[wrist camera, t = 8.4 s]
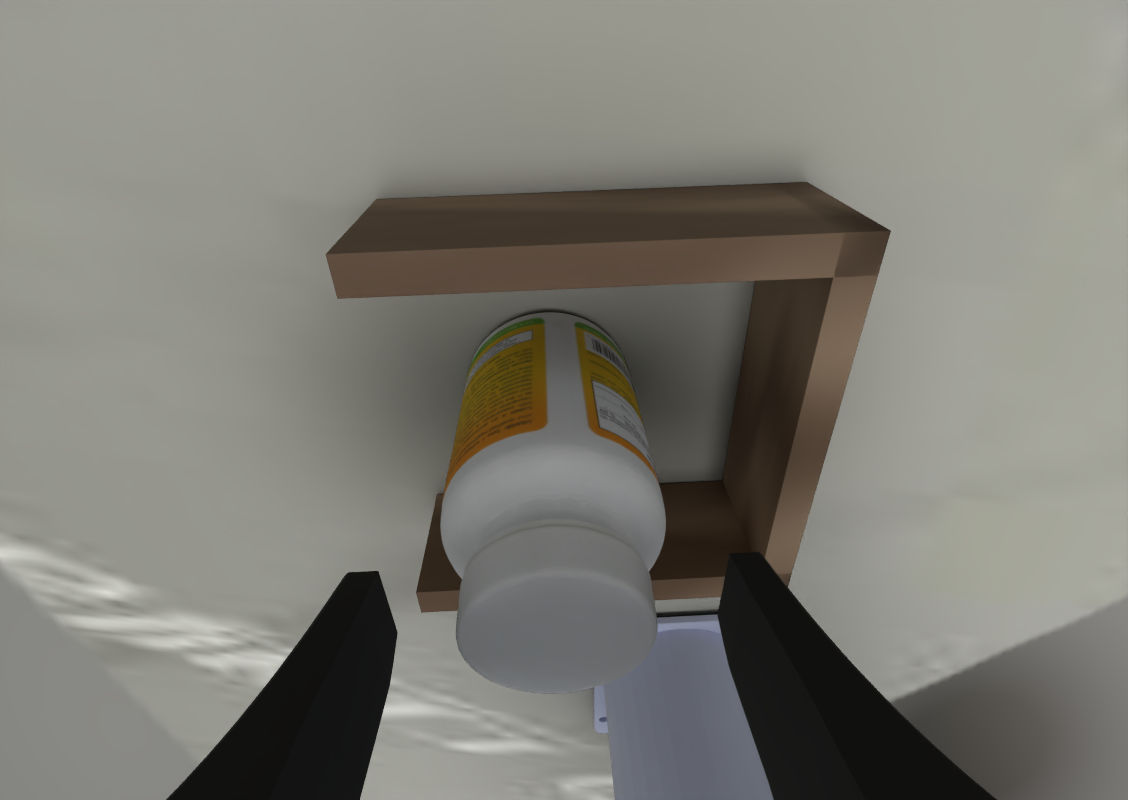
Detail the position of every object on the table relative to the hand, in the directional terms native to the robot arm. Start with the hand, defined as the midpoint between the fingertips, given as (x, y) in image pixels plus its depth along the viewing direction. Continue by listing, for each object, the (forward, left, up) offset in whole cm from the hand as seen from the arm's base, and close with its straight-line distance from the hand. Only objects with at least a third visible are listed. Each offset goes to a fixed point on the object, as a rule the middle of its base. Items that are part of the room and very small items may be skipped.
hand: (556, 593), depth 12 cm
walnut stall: (0, -2, -9) cm, 9 cm away
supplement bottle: (0, 0, -9) cm, 9 cm away
